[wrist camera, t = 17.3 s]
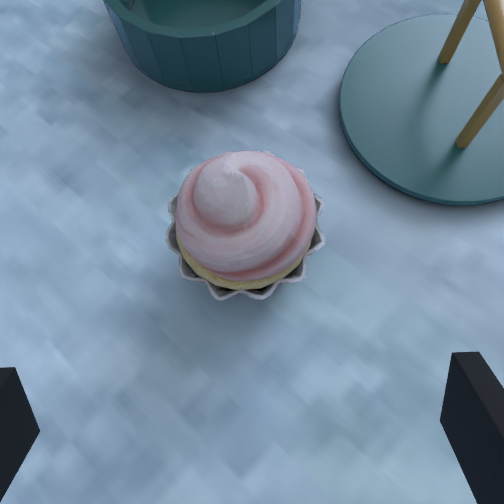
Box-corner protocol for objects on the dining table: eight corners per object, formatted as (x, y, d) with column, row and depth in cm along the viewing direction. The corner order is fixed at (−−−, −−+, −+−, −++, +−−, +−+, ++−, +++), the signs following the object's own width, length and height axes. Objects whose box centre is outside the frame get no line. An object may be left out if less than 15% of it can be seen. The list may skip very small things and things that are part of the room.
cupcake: (338, 297, 28) (368, 247, 19) (196, 332, 28) (152, 299, 18) (299, 171, 31) (308, 72, 21) (171, 202, 31) (122, 116, 21)
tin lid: (348, 215, 30) (374, 145, 21) (328, 33, 35) (344, -81, 26) (586, 203, 29) (708, 125, 21) (531, 19, 34) (612, -103, 26)
